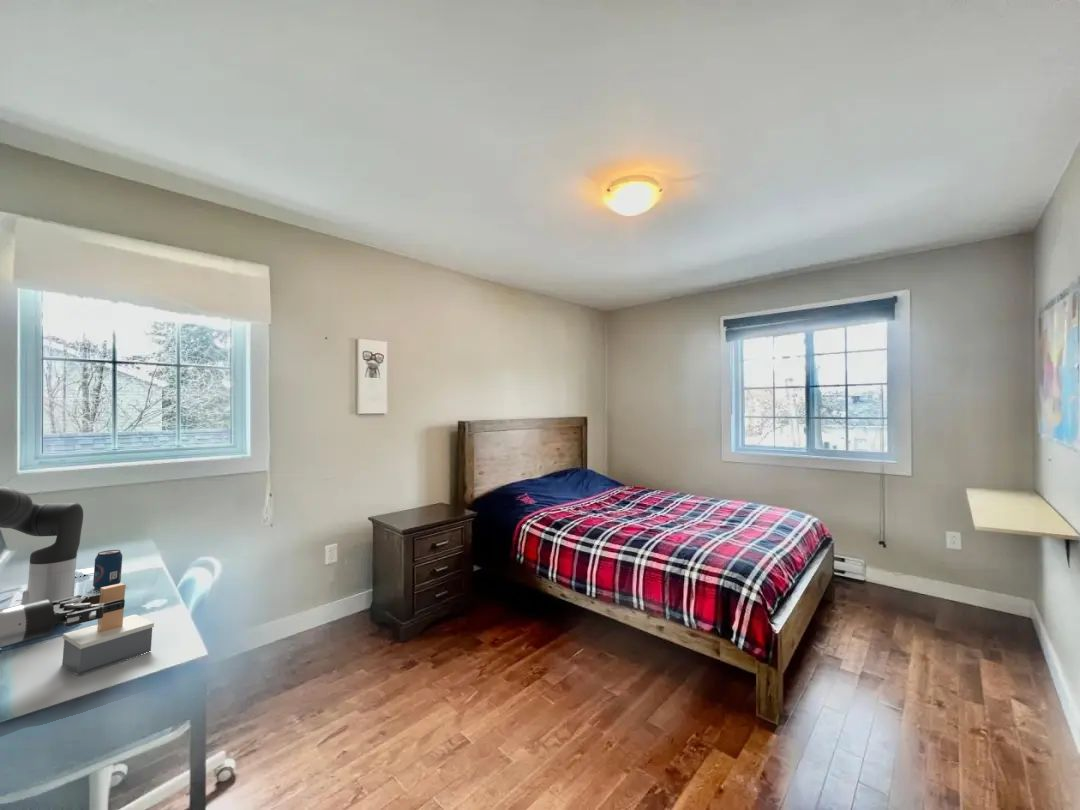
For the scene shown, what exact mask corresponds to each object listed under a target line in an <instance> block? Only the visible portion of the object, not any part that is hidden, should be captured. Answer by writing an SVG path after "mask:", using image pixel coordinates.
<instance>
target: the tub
mask: <svg viewBox="0 0 1080 810" xmlns="http://www.w3.org/2000/svg"><path fill="white" fill-rule="evenodd" d="M152 637H153V627H152V628H149V629H146V630H142V631H139V632H136V633H132V634H129V635H126V636H122V637H119V638H116V639H112V640H109V641H106V642H102V643H99V644H96V645H92V646H89V647H86V648H82V649H79V648H78V647H76V646H74V645H73V644H71V643H70V642H68V641H67V640H65V639H63V652H62V666H64V667H65V668H66V669H68V670H70V671H71V672H72V673H74V674H75V675H77V676H78V677H80V676H83V675H86V674H91V673H93V672H95V671H99V670H101V669H105V668H107V667H110V665H111V666H113V664H114V665H117V664H119V662H120V663H122V662H125V661H128V660H131V659H133V657H134V658H137V657H139V655H140V656H142V655H141V654H143V655H145V654H144V653H146V652H149V651H152V639H153V638H152ZM149 653H150V652H149ZM146 654H147V653H146ZM136 656H137V657H136ZM130 658H131V659H130ZM127 659H128V660H127ZM124 660H125V661H124ZM116 663H117V664H116ZM104 667H105V668H104Z"/></svg>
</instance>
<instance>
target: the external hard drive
mask: <svg viewBox="0 0 1080 810" xmlns="http://www.w3.org/2000/svg"><path fill="white" fill-rule="evenodd" d="M76 571H78V572H82V573H83V574H94V567H89V568H82V569H81V568H80V569H76ZM75 576H76V575H75Z"/></svg>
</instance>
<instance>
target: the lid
mask: <svg viewBox="0 0 1080 810" xmlns="http://www.w3.org/2000/svg"><path fill="white" fill-rule="evenodd" d="M125 593H126V583H123V582H120V583H119V584H115V585H110V586H106V587H101V588H100V590H99V594H100V601H99V604H101V603H102V604H103V603H106V602H111V601H115V600H119V599H124V600H125ZM124 608H125V607H124ZM124 608H123V609H119V610H115V611H112V612H108V613H104V614H103V618H100V619H97V624H93V625H91V626H87V627H84V628H79V629H76V630H73V631H69V632H65V633H63V635H62V639H63V640H64V639H65V640H67V641H68V642H70V643H71V644H73V645H74V646H76V647H78V648H79V649H82V648H86V647H89V646H92V645H96V644H99V643H102V642H106V641H109V640H112V639H116V638H119V637H122V636H126V635H129V634H132V633H136V632H139V631H142V630H146V629H149V628H152V629H153V628H154V627H155V622H154V621H151V620H149V619H146V618H144V617H142V616H140V615H138V614H136V613H135V614H131V615H128V616H127V615H126V616H124V613H125V612H124Z"/></svg>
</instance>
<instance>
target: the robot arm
mask: <svg viewBox="0 0 1080 810" xmlns="http://www.w3.org/2000/svg"><path fill="white" fill-rule="evenodd" d="M83 522H84V509H83V506H81V504H80V503H77V502H53V503H52V502H49V503H45V502H44V503H35V502H33V501H32V498H31V497H30V496H29V495H28V494H26V493H25V492H23V491H20V490H18V489H15V488H11V487H8V486H2V485H0V528H1V529H11V530H14V531H17V532H20V533H23V534H26V535H28V536H32V537H56V538H55V541H54V543H53V544H51V545H48V546H45V547H42V548H39V549H36V550H35V551H32V552H31V553H30V556H29V566H28V567H29V568H28V578H27V580H28V581H27V590H24V591H23V592H22V595H21V596H22V597H21V598H22V599H21V604H18V605H14V606H9V607H5V608H0V648H1V647H5V646H9V645H13V644H16V643H21V642H25V641H28V640H32V639H35V638H38V637H42V636H43V637H44V636H47V635H48V634H50V633H51V632H52V631H53V627H54V626H55V625H57V623H58V624H65V627H72V626H76V625H80V624H83V623H87V622H91V621H95V620H98V619H100V618H103V614H104V613H108V612H112V611H115V610H119V609H123V608H125V603H126V601H125V598H124V599H119V600H115V601H111V602H106V603H103V604H102V603H101V604H99V601H100V593H98V594H94V595H93V594H92V595H81V594H76V595H75V587H76V586H75V583H76V578H75V572H76V570H77V557H78V550H79V547H80V544H81V543H80V542H81V536H82V530H83V524H84V523H83Z"/></svg>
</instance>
